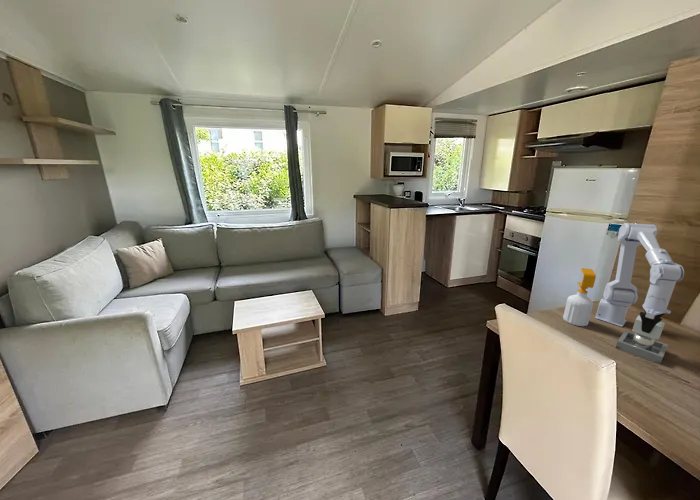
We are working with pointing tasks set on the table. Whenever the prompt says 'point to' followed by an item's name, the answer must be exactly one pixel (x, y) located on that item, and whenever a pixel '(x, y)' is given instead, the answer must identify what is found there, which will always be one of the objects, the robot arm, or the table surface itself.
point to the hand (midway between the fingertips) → (647, 329)
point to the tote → (653, 355)
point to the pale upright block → (654, 333)
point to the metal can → (643, 341)
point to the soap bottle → (580, 301)
